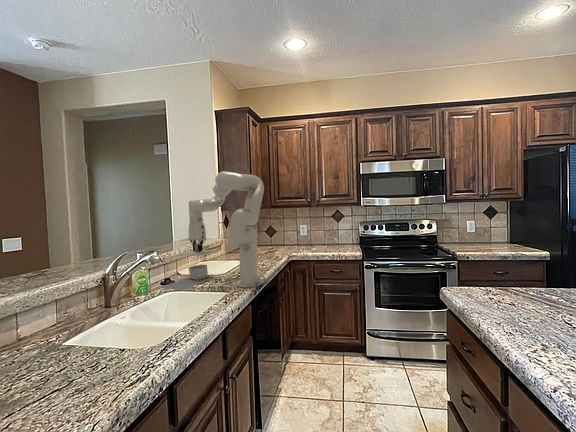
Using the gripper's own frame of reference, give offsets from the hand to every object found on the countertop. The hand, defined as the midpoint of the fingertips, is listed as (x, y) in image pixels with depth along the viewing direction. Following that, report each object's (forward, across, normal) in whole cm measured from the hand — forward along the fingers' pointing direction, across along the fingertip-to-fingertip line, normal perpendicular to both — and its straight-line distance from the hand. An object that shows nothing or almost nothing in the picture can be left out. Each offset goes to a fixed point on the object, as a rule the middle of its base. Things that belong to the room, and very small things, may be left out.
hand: (197, 250), depth 200 cm
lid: (+2, 0, 0) cm, 2 cm away
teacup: (+17, 0, 0) cm, 17 cm away
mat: (+17, -2, +17) cm, 24 cm away
